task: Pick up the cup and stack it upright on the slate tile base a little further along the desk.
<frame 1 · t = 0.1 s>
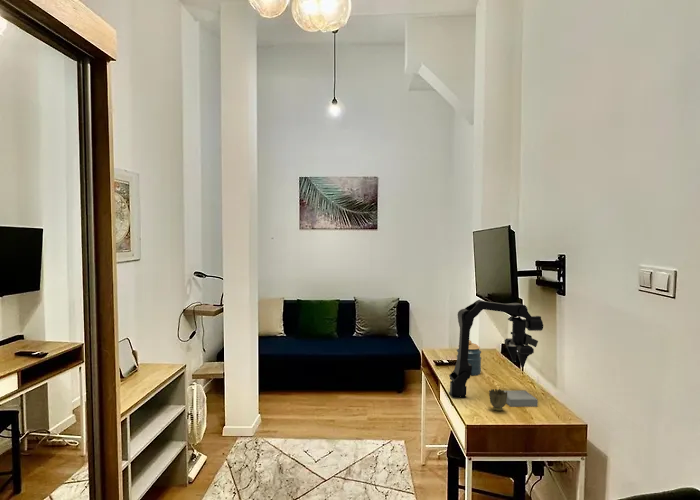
hand: (518, 364, 207), 15 cm above the table, fingers open, 9 cm apart
slate base: (517, 401, 200), on the table
canister: (468, 372, 244), on the table
cup: (497, 410, 189), on the table
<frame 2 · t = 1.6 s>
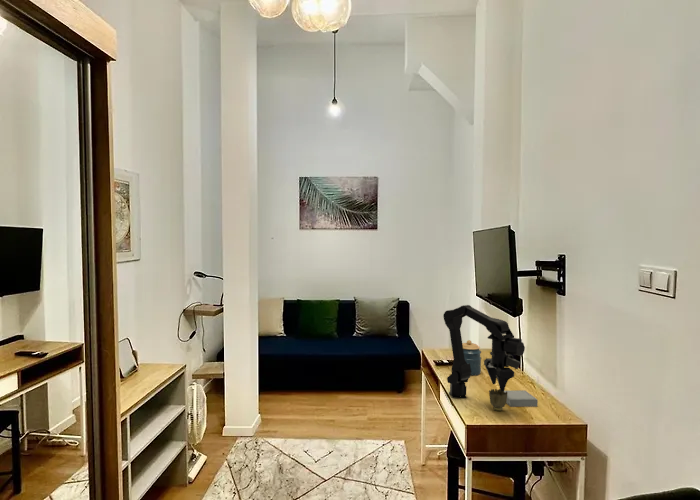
hand: (498, 387, 189), 10 cm above the table, fingers open, 9 cm apart
nothing on the table moved.
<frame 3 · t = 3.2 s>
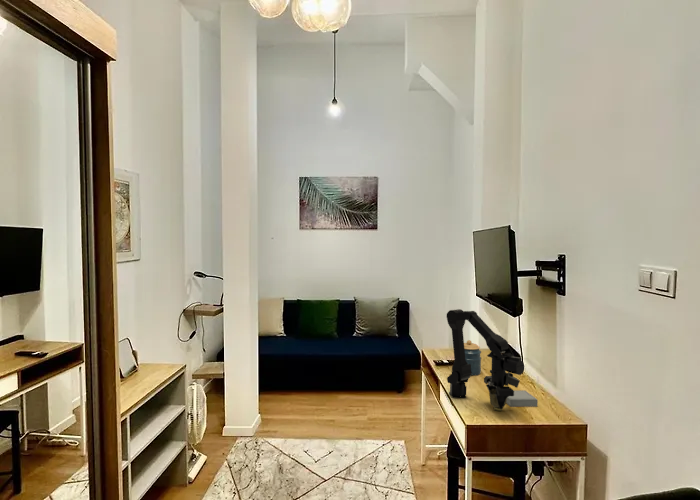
hand: (497, 405, 189), 2 cm above the table, fingers closed on cup, 6 cm apart
cup: (497, 410, 189), on the table, touching gripper
everything else where it was.
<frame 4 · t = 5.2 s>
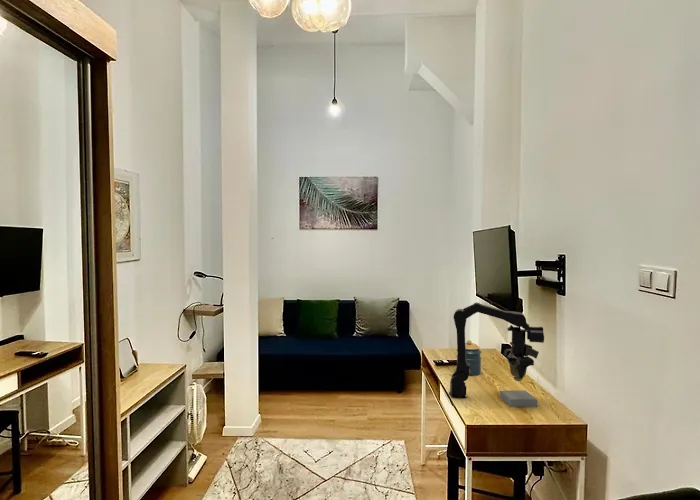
hand: (518, 376, 199), 12 cm above the table, fingers closed on cup, 6 cm apart
cup: (518, 380, 199), point 10 cm above the table, touching gripper
everything else where it was.
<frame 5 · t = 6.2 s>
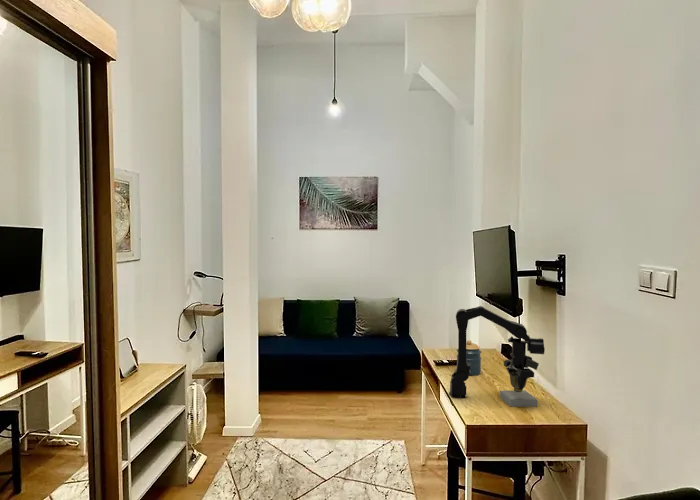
hand: (517, 387, 199), 6 cm above the table, fingers closed on cup, 6 cm apart
cup: (517, 391, 199), point 4 cm above the table, touching gripper
everything else where it was.
when the fingers open (6 cm above the table, at t = 7.1 s): cup drops 1 cm, resting on slate base.
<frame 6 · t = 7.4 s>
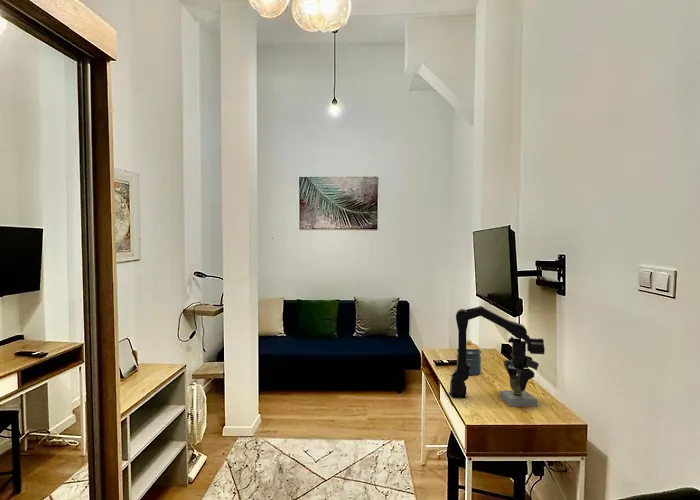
hand: (518, 387, 199), 6 cm above the table, fingers open, 9 cm apart
cup: (517, 395, 200), point 3 cm above the table, touching slate base
everything else where it was.
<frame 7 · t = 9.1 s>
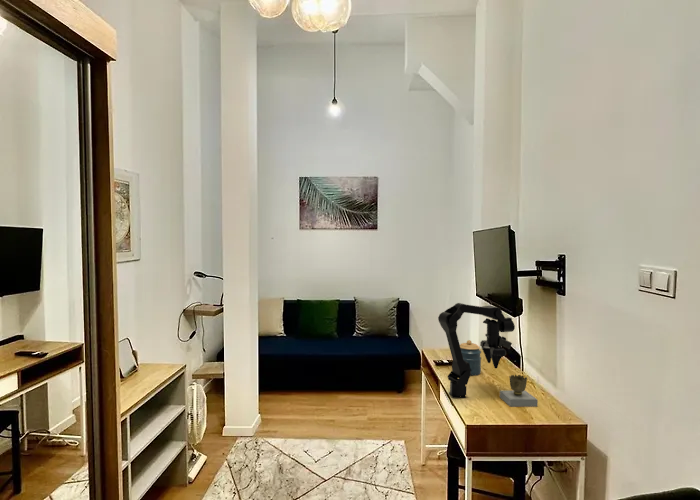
hand: (492, 365, 212), 12 cm above the table, fingers open, 9 cm apart
nothing on the table moved.
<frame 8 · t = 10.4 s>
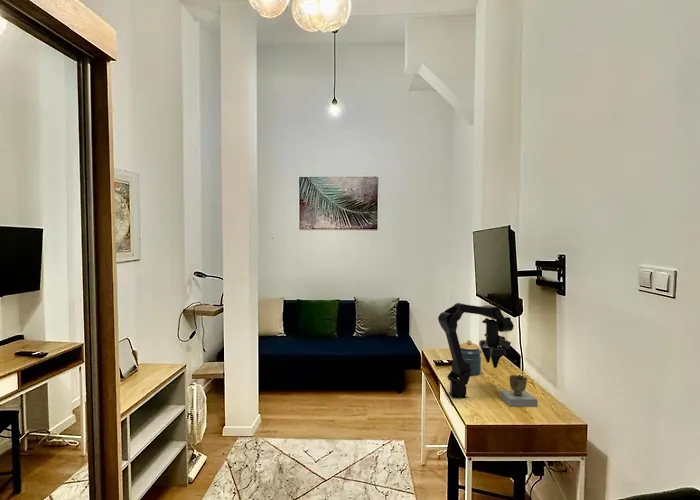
hand: (491, 365, 213), 13 cm above the table, fingers open, 9 cm apart
nothing on the table moved.
at the end: cup inside the target area on the slate base (0.1 cm from its centre), point 2.9 cm above the slate base's base; cup tilted 0°; the gripper is holding nothing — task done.
